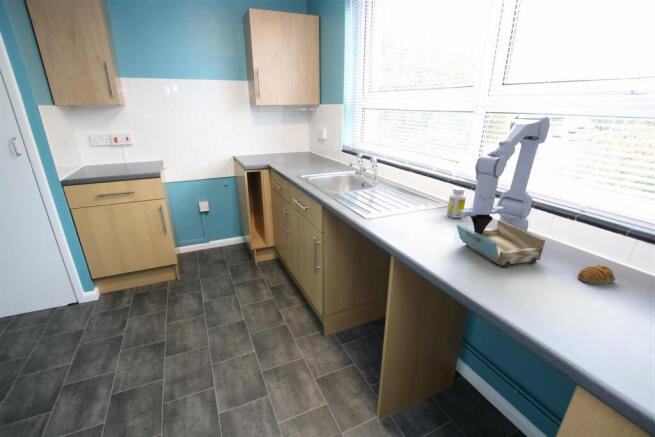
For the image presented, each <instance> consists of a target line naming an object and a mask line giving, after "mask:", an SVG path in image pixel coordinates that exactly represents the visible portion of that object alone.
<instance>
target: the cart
mask: <svg viewBox="0 0 655 437" xmlns="http://www.w3.org/2000/svg"><path fill="white" fill-rule="evenodd" d="M472 230H473V231H474V229H472ZM482 236H484V237H486V238H488V239H490V240H492V241H494V242H496V245H497V250H498V255H499V259H497V260H494V259H493V258H491V257H489V256H488V255H486V254H484V253H483V252H481V251H479V250H478V249H476V248H474V247H473V246H471V245H469V244H468V243H466V242H464V241H463V240H461V242H462V243H464V244H465V245H467V246H469V247H470V248H471V249H473V250H475V251H477V252H478V253H480V254H481V255H484V257H487V258H488V259H490V260H491V261H493V262H495V263H496V264H498V265H500V266H501V267H503V268H505V269H507V268H510V266H511V265H512V264H513V265H514V264H519V263H528V264H530V265H534V264H536V263H537V261H540V260H541V257H542V254H543V250H544V246H545V241H546V239H545V238H542V237H540V236H537V235H535V234H533V233H531V232H528V230H527V231H524V230H522V229H520V228H517V227H515V226H513V225H511V224H508V223H506V222H504V221H502V220H500V219H498V220H497V224H496V228H485V230H484V231H483V233H482Z"/></svg>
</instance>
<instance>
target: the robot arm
mask: <svg viewBox="0 0 655 437" xmlns="http://www.w3.org/2000/svg"><path fill="white" fill-rule="evenodd" d="M550 125H551V124H550V118H549V117H548V116H531V115H529V116H528V115H527V116H525V115H523V116H522V115H516V116H514V117H513V119H512V120H511V123H510V126H509V132H508V134H507V135H506V137H505V138H504V139H502V140H499V141H497V142H496V144H495V145H494V146H493V147H492V148H491V149H490V150H489V152H488V153H487V154H486V155H482V156H479V158H477V160H476V164H475V167H474V168H475V169H474V171H475V180H476V185H475V191H474V196H473V203H472V205H471V207H468V208H464V210H460V216H461V218H463V219H465V218H469V217H470V219H471V221H472V225H473V230H474V231H475V232H477V233H479V234H481V235H482V233H483V231H484V230H485V229H487V227H488V225H489V224H490V223H491V222H492V221H493V218H494V217H493V216H491V215H495V214H498V215H499V220H502V221H504V222H506V223H508V224H511V225H513V226H515V227H517V228H520V229H522V230H524V231H527V232H528V230H529V229H528V228H529V219H528V216H530V213H531V210H532V207H533V206H532V204H533V197H532V196H531V195H530V194H529V193H528V192H527V187H528V183H529V179H530V177H531V172H532V168H533V165H534V163H535V162H534V161H535V159H536V158H535V157H536V154H537V150H538V147H539V145H540V144H543V143H545V141H546V139H547V136H548V134H549V130H550V129H549V128H550ZM518 144H520V149H519V153H518V157H517V162H516V165H515V168H514V173H513V176H512V180H511V184H510V188H509V189H508V190H505V191H503V192H502V193H501V194H500V196H499V199H498V200H497V204H496V206H494V205H495V200H496V195H497V189H498V183H499V181H500V180H499V179H500V177H501V176H502V175H503V174H504V172H505V169H506V166H507V164H508V161H509V160H510V159H511V158H512V156H513V155H514V154H515V152H516V146H517V145H518Z"/></svg>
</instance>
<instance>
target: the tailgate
mask: <svg viewBox="0 0 655 437" xmlns="http://www.w3.org/2000/svg"><path fill="white" fill-rule="evenodd" d="M456 228H457V233H458V236H459V237H458V238H459V239H460V240H461V241H462V240H463V241H464V242H466V243H468V244H469V245H471V246H473V247H474V248H476V249H478V250H479V251H481V252H483V253H484V254H486V255H488V256H489V257H491V258H493V259H494V260H497V259H499V255H498V250H497V245H496V242H494V241H492V240H490V239H488V238H486V237H484V236H482V235H481V234H479V233H477V232H475V231H473V230H474V229H471V228H469V227H467V226H465V225H464V224H461V223H457V224H456Z"/></svg>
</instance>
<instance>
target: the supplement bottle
mask: <svg viewBox="0 0 655 437" xmlns="http://www.w3.org/2000/svg"><path fill="white" fill-rule="evenodd" d="M452 191H453V192H452V193H450V194H449V199H448V205H447V211H446V213H447V214H446V215H447V216H448V217H450V218H452V219H453V218H454V219H460V218H462V217H461V216H460V210H464V209H465V204H466V198H467V197H466V195H465V188H464V187H458V186H457V187H453V188H452Z"/></svg>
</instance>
